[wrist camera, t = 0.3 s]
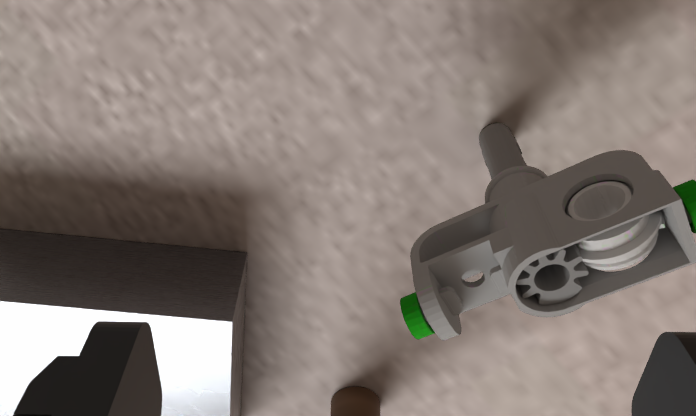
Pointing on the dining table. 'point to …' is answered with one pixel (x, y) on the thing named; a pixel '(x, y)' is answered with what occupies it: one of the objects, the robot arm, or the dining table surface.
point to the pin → (355, 402)
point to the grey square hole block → (124, 312)
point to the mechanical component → (550, 237)
